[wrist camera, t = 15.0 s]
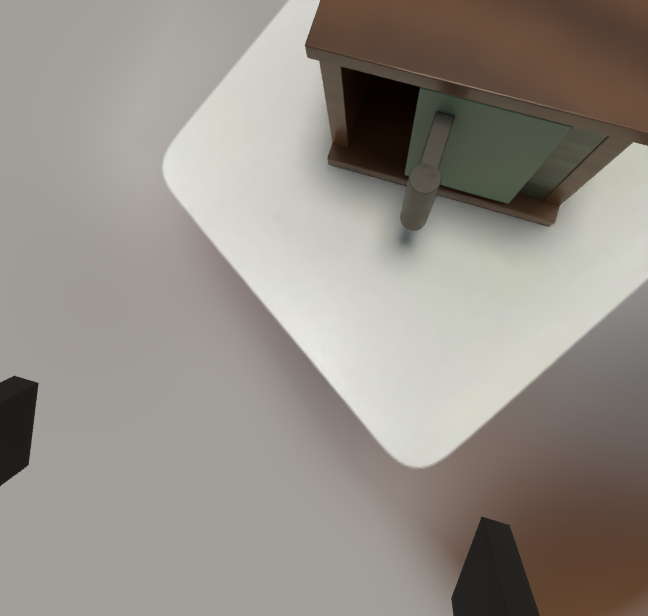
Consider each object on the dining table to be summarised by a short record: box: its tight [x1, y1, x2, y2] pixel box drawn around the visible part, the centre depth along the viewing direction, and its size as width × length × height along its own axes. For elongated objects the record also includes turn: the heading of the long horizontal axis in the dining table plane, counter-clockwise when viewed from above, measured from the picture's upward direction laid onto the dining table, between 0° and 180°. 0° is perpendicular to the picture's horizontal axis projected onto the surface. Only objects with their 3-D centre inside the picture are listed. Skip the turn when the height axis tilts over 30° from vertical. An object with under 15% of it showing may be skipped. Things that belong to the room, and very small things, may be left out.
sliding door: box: [401, 87, 573, 231], centre depth 30 cm, size 5×7×11 cm
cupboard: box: [305, 0, 648, 226], centre depth 30 cm, size 10×16×14 cm, turn 72°
